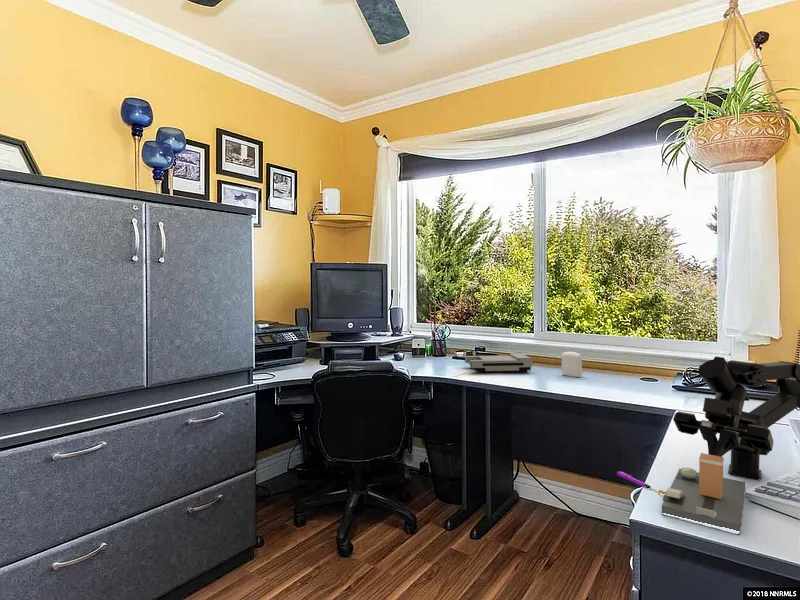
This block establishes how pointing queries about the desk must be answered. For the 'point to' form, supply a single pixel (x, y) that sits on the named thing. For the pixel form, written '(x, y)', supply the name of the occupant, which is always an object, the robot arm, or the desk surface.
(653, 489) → the purple screwdriver
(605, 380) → the desk surface
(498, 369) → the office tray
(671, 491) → the block
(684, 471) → the push button
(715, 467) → the fader knob
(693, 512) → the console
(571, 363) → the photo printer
